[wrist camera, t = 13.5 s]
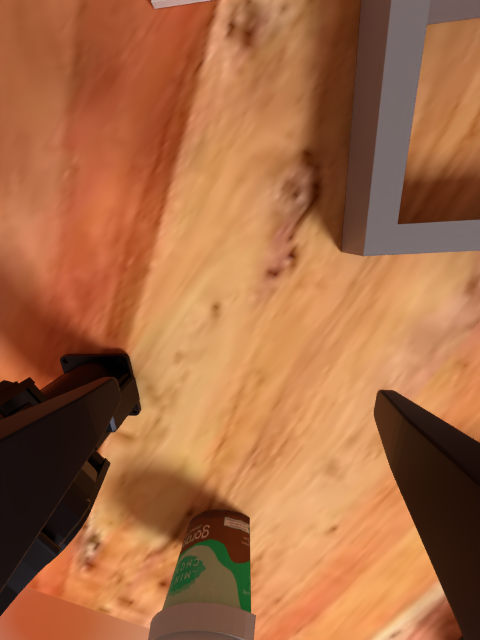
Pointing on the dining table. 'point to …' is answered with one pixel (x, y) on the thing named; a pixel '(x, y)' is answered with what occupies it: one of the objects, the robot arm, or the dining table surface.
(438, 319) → the dining table surface
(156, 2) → the white mat
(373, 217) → the frame
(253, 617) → the food container
